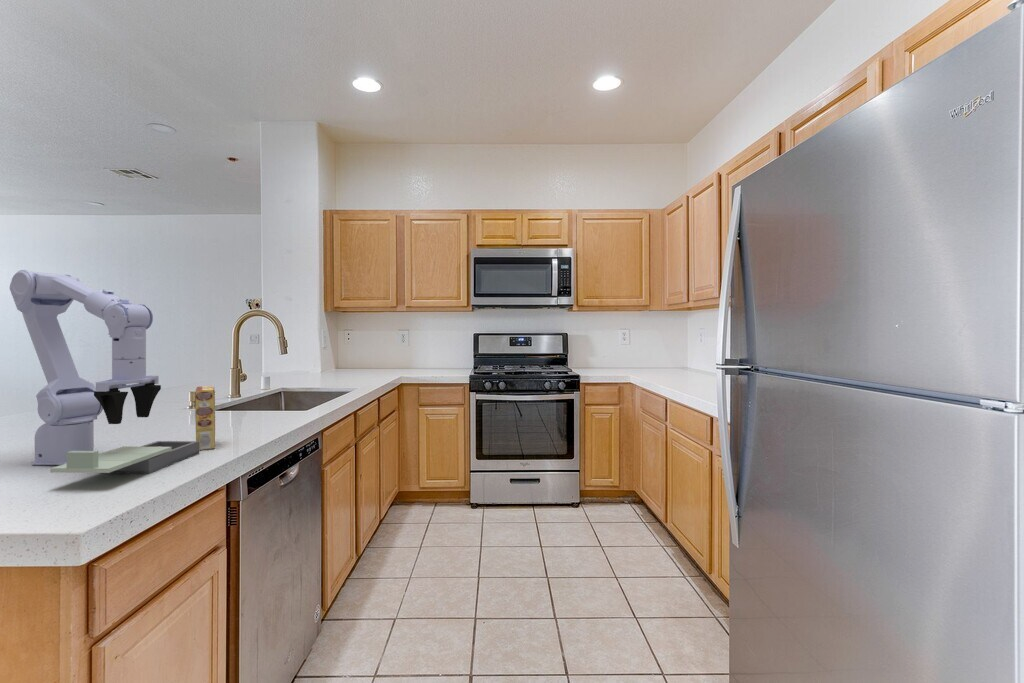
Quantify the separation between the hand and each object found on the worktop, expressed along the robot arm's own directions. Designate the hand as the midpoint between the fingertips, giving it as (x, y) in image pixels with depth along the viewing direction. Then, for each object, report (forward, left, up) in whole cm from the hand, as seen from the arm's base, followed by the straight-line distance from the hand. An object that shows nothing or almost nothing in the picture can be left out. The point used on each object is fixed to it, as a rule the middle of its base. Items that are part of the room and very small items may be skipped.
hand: (129, 420), depth 100 cm
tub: (+3, +3, -10) cm, 11 cm away
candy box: (+5, +18, -10) cm, 21 cm away
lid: (+3, -7, -7) cm, 10 cm away
